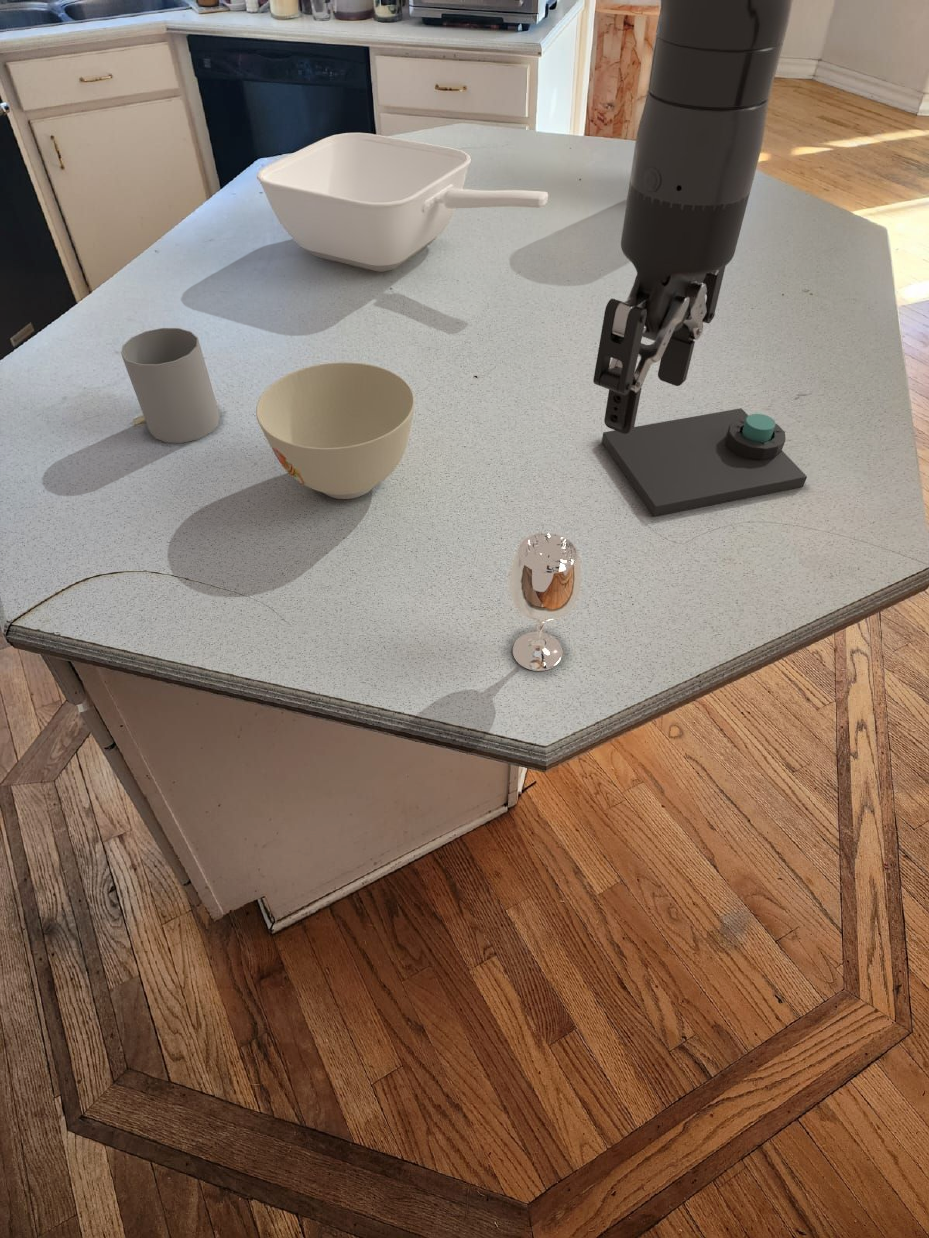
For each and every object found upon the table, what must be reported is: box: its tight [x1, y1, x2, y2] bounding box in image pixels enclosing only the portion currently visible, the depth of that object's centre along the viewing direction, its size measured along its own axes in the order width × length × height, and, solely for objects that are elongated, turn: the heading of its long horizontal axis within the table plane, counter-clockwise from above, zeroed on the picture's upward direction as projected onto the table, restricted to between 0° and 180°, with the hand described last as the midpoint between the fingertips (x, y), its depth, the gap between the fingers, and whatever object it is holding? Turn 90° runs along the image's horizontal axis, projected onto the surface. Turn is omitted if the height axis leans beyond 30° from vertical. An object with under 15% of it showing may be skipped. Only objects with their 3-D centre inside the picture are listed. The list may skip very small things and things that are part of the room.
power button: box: [742, 413, 776, 442], centre depth 85 cm, size 3×3×2 cm
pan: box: [256, 132, 549, 273], centre depth 118 cm, size 27×44×13 cm, turn 61°
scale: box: [601, 407, 808, 517], centre depth 85 cm, size 19×14×3 cm
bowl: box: [255, 361, 416, 500], centre depth 80 cm, size 16×16×10 cm
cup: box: [120, 327, 221, 444], centre depth 88 cm, size 8×8×10 cm
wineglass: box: [508, 532, 582, 672], centre depth 63 cm, size 6×6×12 cm
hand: (645, 404), depth 60 cm, fingers open, 8 cm apart
